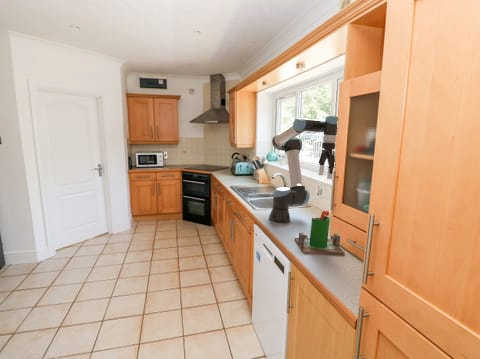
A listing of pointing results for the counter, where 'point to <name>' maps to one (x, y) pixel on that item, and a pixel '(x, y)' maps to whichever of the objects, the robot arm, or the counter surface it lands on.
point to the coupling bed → (329, 250)
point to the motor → (320, 230)
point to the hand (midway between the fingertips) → (325, 177)
